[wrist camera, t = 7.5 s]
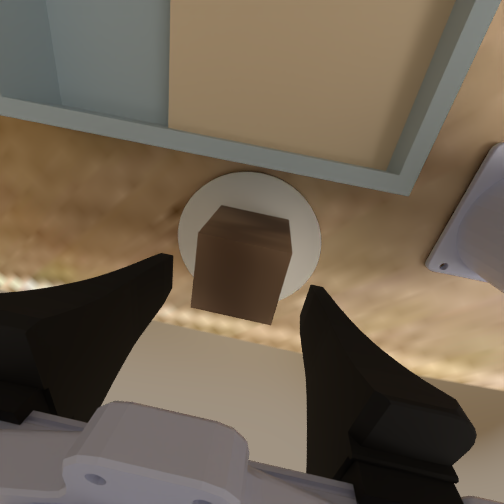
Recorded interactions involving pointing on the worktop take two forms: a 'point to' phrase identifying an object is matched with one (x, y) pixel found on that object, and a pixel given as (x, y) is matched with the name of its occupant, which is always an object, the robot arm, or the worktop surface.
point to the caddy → (249, 77)
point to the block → (241, 264)
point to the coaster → (260, 201)
